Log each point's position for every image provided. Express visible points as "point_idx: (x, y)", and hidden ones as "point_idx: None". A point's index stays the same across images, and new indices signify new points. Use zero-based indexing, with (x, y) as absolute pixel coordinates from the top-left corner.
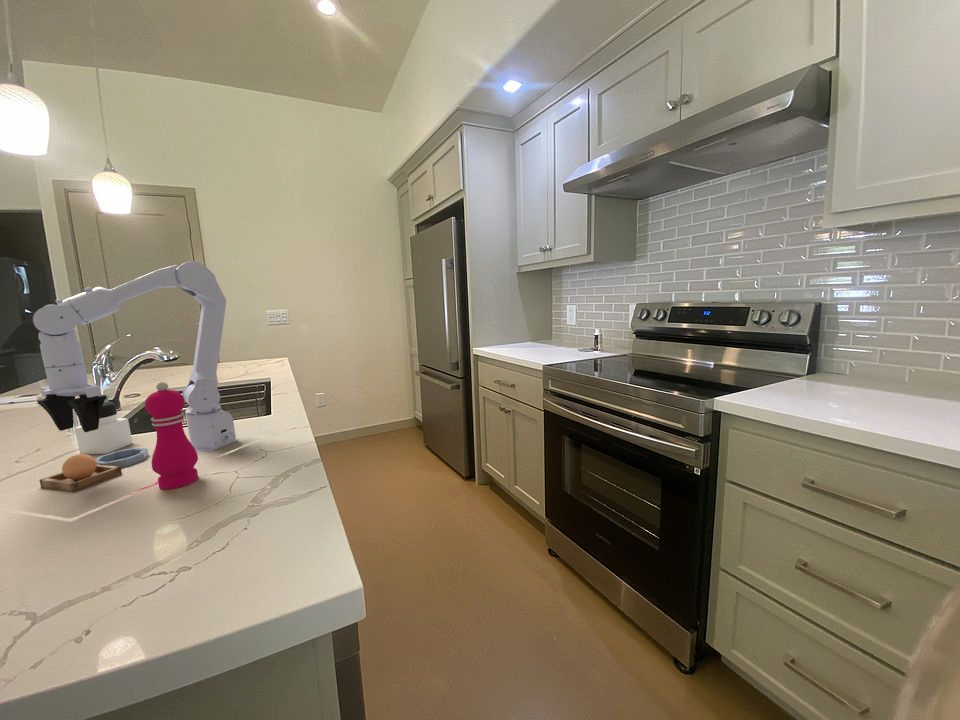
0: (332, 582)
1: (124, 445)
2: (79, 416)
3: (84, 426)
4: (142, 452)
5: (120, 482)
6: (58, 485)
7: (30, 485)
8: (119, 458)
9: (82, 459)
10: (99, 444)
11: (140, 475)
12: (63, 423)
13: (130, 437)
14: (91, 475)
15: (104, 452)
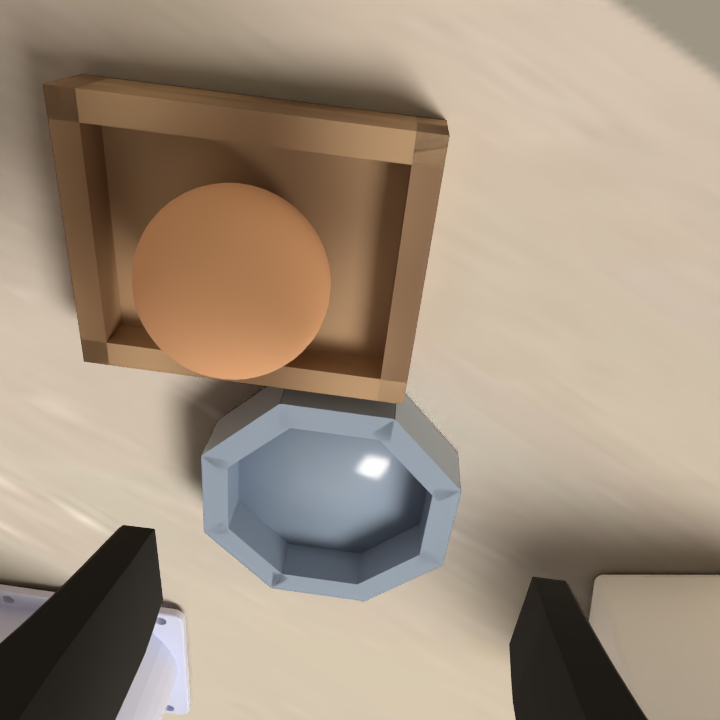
0: None
1: None
2: (4, 684)
3: (79, 570)
4: (227, 542)
5: (5, 253)
6: (230, 103)
7: (631, 176)
8: (405, 519)
9: (142, 297)
10: (646, 632)
11: (9, 341)
12: (539, 667)
13: None
14: None
15: (606, 586)
